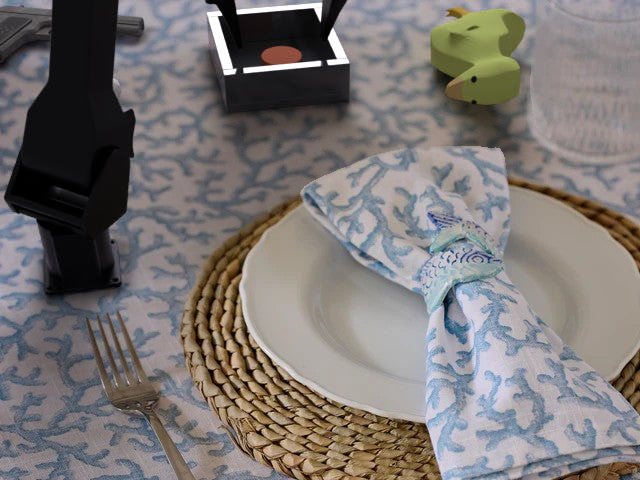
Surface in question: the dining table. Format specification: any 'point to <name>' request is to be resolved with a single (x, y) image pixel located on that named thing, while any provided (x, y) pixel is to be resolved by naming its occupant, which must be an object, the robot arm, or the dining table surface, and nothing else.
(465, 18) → the toy
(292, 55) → the stopper
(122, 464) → the dining table surface
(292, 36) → the dark grey open box
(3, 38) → the pistol
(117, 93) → the white bumpy ball
